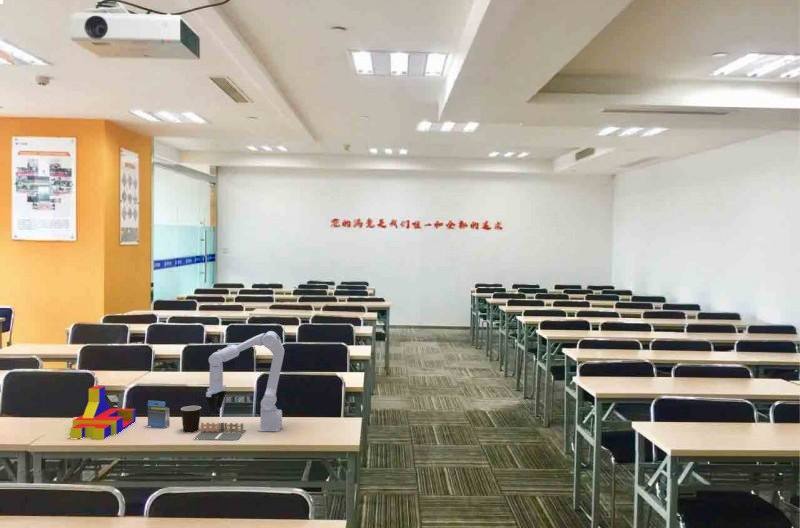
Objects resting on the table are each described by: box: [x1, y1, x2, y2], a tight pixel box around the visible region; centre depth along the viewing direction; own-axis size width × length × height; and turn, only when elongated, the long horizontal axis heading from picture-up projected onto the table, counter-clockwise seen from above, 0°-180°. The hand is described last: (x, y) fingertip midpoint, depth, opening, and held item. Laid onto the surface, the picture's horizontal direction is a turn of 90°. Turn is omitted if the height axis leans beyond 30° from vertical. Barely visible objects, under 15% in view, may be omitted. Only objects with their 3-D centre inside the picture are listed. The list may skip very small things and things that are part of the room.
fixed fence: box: [219, 422, 244, 433], centre depth 255 cm, size 10×2×4 cm, turn 90°
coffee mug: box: [180, 405, 202, 433], centre depth 260 cm, size 12×9×10 cm
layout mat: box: [194, 429, 247, 441], centre depth 252 cm, size 19×14×1 cm
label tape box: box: [147, 400, 171, 428], centre depth 263 cm, size 9×4×12 cm, turn 82°
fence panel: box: [200, 422, 221, 432], centre depth 255 cm, size 8×1×4 cm, turn 90°
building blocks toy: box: [69, 385, 137, 440], centre depth 257 cm, size 19×25×18 cm
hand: (215, 409), depth 259 cm, fingers open, 5 cm apart
